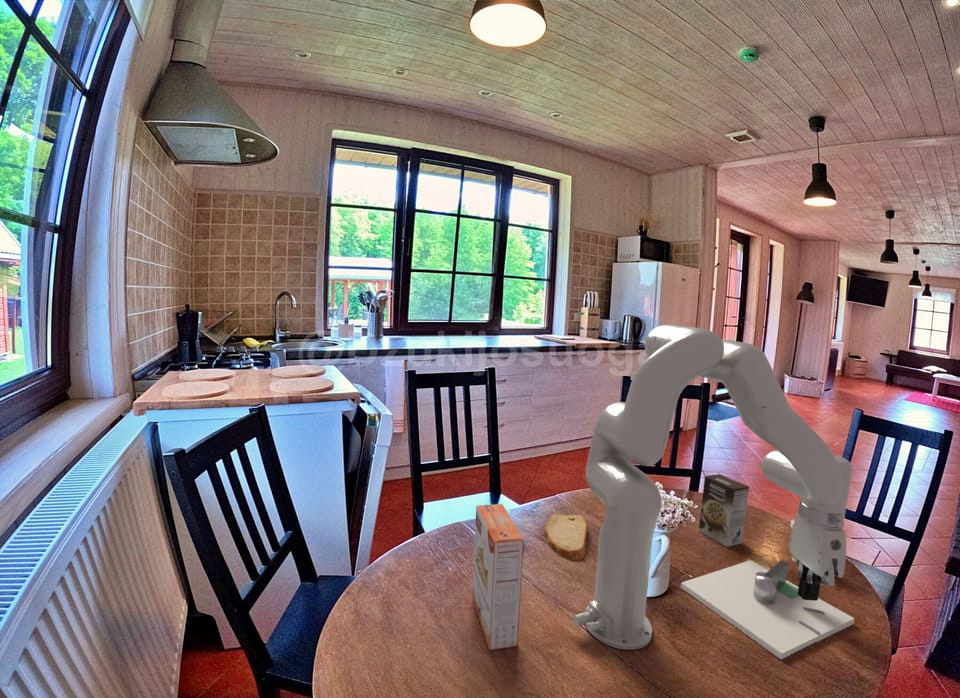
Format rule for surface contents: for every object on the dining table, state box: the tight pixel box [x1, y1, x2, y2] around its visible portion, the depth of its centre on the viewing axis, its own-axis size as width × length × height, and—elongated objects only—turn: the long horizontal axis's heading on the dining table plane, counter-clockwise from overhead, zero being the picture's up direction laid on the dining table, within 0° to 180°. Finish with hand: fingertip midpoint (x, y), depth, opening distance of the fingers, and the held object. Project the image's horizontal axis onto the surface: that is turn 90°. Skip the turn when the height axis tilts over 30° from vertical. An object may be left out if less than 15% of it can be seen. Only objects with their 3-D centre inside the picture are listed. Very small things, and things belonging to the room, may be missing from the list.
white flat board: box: [680, 560, 856, 660], centre depth 98 cm, size 24×22×1 cm
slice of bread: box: [543, 512, 589, 561], centre depth 122 cm, size 18×18×4 cm
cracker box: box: [472, 503, 525, 651], centre depth 87 cm, size 14×6×21 cm, turn 13°
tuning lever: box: [753, 559, 789, 604], centre depth 100 cm, size 12×4×4 cm, turn 129°
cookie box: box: [698, 473, 750, 548], centre depth 125 cm, size 9×6×16 cm
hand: (807, 597), depth 96 cm, fingers closed
